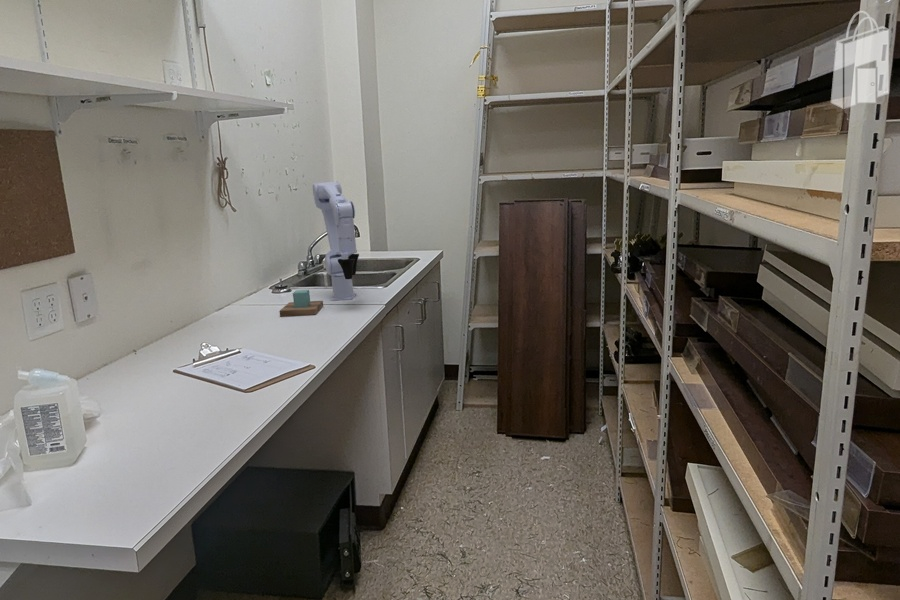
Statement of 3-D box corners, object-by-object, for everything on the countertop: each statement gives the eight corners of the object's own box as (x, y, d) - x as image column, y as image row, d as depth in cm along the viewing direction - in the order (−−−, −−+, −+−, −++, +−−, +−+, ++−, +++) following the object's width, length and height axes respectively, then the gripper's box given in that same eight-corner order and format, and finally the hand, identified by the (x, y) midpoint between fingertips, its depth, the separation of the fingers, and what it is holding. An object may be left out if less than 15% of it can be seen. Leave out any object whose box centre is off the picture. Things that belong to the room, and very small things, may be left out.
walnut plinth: (289, 307, 204) (289, 302, 203) (323, 306, 204) (322, 300, 203) (280, 316, 192) (279, 311, 192) (315, 314, 192) (315, 309, 192)
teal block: (297, 304, 200) (295, 290, 199) (310, 303, 200) (308, 289, 199) (294, 307, 195) (292, 293, 194) (307, 306, 195) (305, 292, 194)
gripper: (338, 236, 203) (342, 273, 206) (330, 241, 189) (335, 281, 192) (358, 234, 203) (362, 272, 206) (352, 239, 189) (356, 280, 192)
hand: (350, 276), depth 199 cm, fingers open, 7 cm apart
